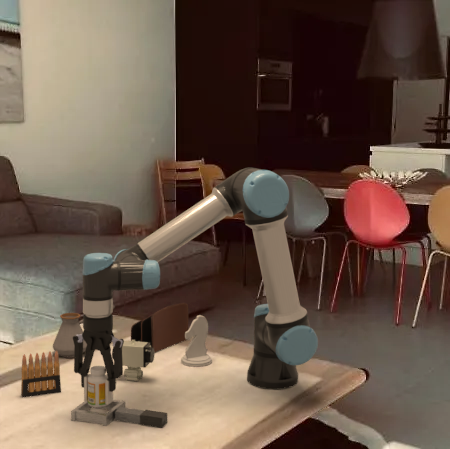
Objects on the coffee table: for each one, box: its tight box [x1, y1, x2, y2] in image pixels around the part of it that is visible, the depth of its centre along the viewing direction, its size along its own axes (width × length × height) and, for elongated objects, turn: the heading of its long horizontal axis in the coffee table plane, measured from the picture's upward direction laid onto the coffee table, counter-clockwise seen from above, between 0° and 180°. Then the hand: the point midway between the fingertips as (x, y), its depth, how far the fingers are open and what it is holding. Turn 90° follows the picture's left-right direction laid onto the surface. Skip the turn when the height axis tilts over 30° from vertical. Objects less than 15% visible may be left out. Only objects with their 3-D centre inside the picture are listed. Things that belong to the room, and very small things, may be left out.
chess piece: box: [180, 314, 213, 368], centre depth 238 cm, size 10×10×15 cm
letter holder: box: [130, 302, 189, 353], centre depth 257 cm, size 10×20×14 cm, turn 147°
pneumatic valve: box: [111, 340, 156, 382], centre depth 222 cm, size 6×12×12 cm, turn 78°
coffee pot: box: [52, 304, 116, 358], centre depth 247 cm, size 21×12×15 cm, turn 124°
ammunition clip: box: [20, 351, 62, 398], centre depth 209 cm, size 11×2×12 cm, turn 114°
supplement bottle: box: [88, 365, 108, 407], centre depth 195 cm, size 5×5×10 cm
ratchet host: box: [70, 399, 168, 429], centre depth 194 cm, size 24×11×3 cm, turn 72°
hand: (98, 400), depth 195 cm, fingers closed on supplement bottle, 5 cm apart
